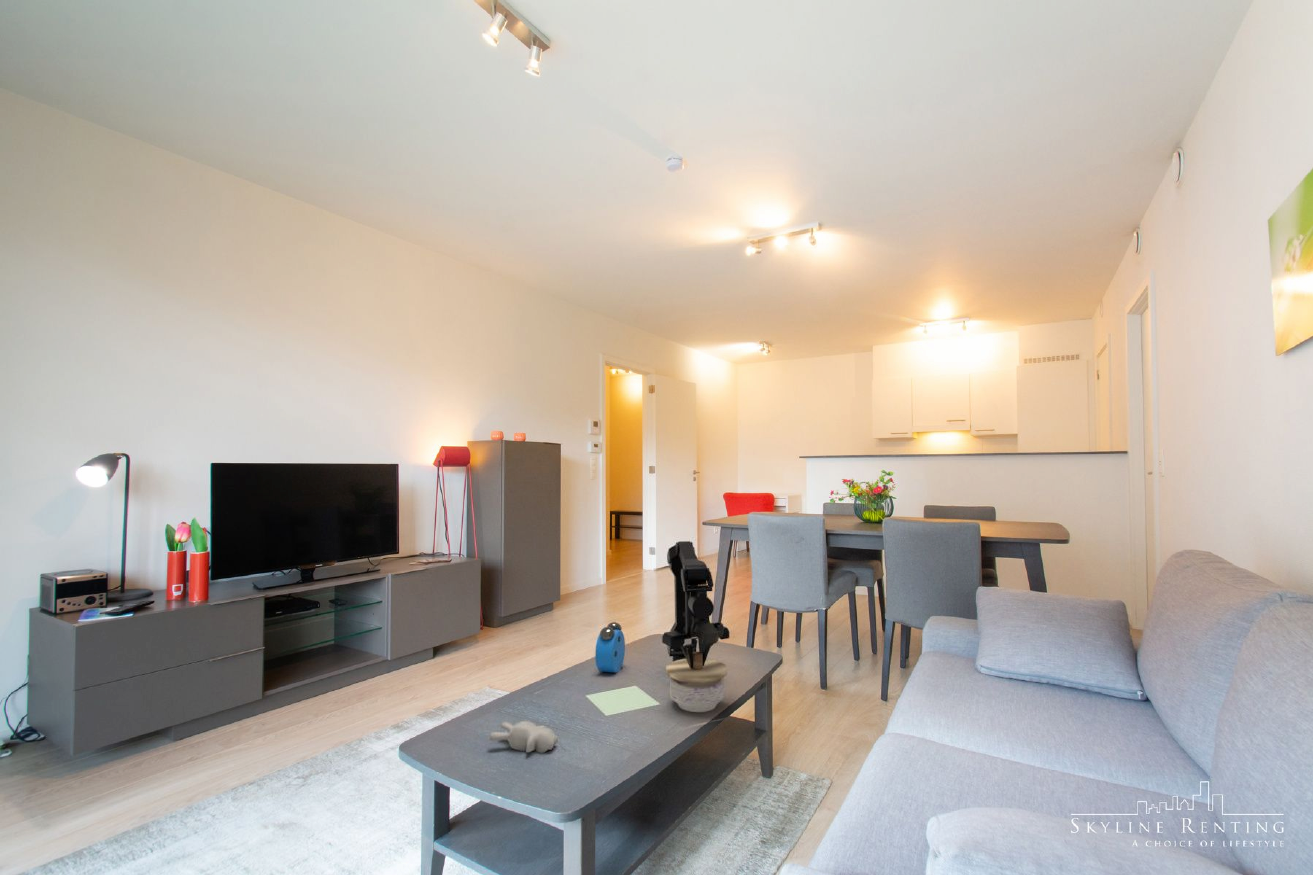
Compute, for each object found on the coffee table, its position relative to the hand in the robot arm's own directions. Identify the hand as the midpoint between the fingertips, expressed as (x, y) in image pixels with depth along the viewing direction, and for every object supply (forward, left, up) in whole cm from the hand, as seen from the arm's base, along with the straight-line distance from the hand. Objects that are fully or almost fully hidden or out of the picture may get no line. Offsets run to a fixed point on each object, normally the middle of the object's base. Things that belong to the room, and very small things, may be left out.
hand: (696, 666), depth 165 cm
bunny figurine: (+1, -48, -11) cm, 49 cm away
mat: (-13, -17, -11) cm, 24 cm away
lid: (0, 0, -1) cm, 1 cm away
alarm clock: (-38, -10, -11) cm, 41 cm away
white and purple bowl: (0, 0, -11) cm, 11 cm away
